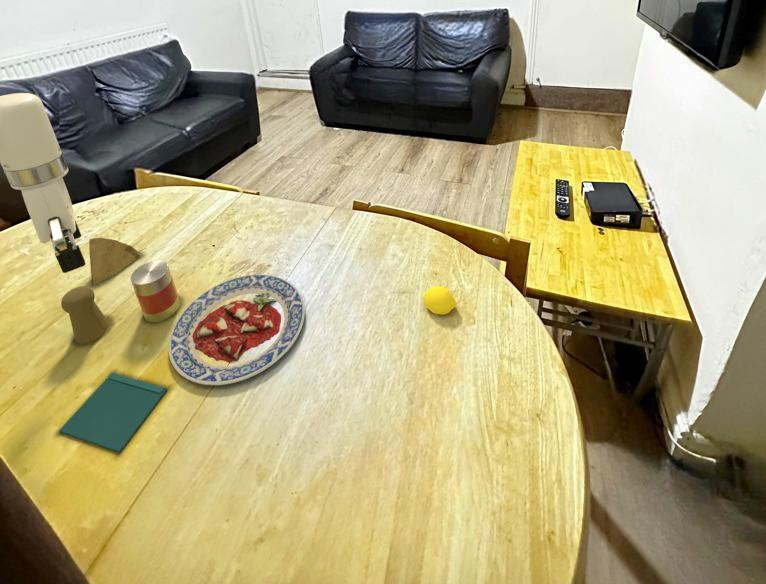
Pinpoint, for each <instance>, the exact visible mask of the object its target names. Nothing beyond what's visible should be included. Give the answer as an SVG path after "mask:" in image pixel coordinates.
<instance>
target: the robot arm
mask: <svg viewBox="0 0 766 584" xmlns="http://www.w3.org/2000/svg"><path fill="white" fill-rule="evenodd" d="M0 166H1V167H2V169H3V172H4V175H5V176H6V179H7V181H8V183H9V185H10V187H11V188H12V189H13V190H18V191H19V190H20V191H21V196H22V197H23V201H24V204H25V207H26V210H27V212H28V214H29V217H30V220H31V222H32V225H33V227H34V230H35V233H36V235H37V237H38V240H39V242H40V243H41V244H47V243H48V242H50V241H51V244H52V247H53V250H54V256H55V258H56V260H57V262H58V266H59V267H60V270H61V272H62V273H63V274H67V273H69V272H72V271H75V270H77V269H80V268H82V267H85V266H86V260H85V258H84V255H83V253H82V251H81V249H80V246H79V244H76V241H75V240H77V239H80V238H81V237H82V233H81V231H80V228H79V225H78V223H77V221H76V217H75V212H74V207H73V203H72V199H71V197H70V194H69V190H68V189H67V186H66V184H65V180H64V177H65V176H66V175H67V174H68V173H69V171H70V170H69V167H68V164H67V161H66V158H65V156H64V155H63V152H62V150H61V147H60V144H59V142H58V139H57V136H56V134H55V131H54V128H53V127H52V124H51V121H50V118H49V116H48V113H47V111H46V109H45V106H44V103H43V101H42V100H41V98H40V97H39V96H37V95H36V94H33V93H29V92H17V93H9V94H4V95H0Z"/></svg>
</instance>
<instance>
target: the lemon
mask: <svg viewBox="0 0 766 584" xmlns="http://www.w3.org/2000/svg"><path fill="white" fill-rule="evenodd" d="M422 297H423V302H424V304H425V307H426V308H427V309H428V310H429V311H430V312H431V313H432V314H435V315H443V316H444V315H447V314H449V313H450V312H451V311H452V310H453V309H455V308H456V307H457V304H458V303H457V301H456V299H455V297H454V296H453V294H452V293H451V291H450V290H449V288H448V289H447V288H446V287H444V286H441V285H434V286H432V287H430V288H428V289H427V290H426V291H425V292H424V293H423V296H422Z"/></svg>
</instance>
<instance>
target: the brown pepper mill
mask: <svg viewBox="0 0 766 584" xmlns="http://www.w3.org/2000/svg"><path fill="white" fill-rule="evenodd" d="M95 295H96V294H95V291H94V290H93V289H92V288H91V287H90V286H87V285H82V286H77V287H74V288H72V289H70V290H69V291H67V292H66V293H65V294H64V295H63V297H62V299H61V302H60V305H61V309H62V310H63V311H64V312H65V313H67V314H68V316H69V320H70V324H71V328H72V333H73V337H74V340H75V342H76V343H77V344H81V345H82V344H83V345H85V344H88V343H91V342H94V341H95V340H98V339H99V338H100V337H102V336H103V335H104V334H105V333H106V332H107V331H108V329H109V326H110V322H109V320H108V318H107V317H106V316H105V315H104V313H103V312H102V310H101V309H100V308H99V306H98V304H97V302H96V301H95V298H96V297H95Z"/></svg>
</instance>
